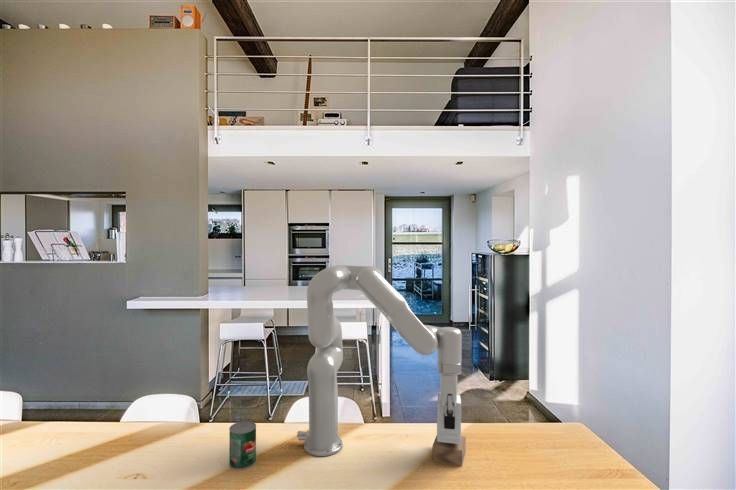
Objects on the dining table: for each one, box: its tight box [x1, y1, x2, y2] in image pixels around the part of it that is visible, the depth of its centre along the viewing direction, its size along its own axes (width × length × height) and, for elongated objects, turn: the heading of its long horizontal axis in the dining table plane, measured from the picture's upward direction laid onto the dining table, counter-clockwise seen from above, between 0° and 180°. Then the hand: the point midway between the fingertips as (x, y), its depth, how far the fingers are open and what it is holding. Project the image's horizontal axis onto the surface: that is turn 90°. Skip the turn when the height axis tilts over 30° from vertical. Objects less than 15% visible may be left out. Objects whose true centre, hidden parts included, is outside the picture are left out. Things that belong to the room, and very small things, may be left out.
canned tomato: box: [228, 420, 257, 471], centre depth 121 cm, size 8×8×11 cm
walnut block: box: [432, 435, 467, 467], centre depth 125 cm, size 9×9×5 cm
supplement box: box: [436, 393, 462, 444], centre depth 125 cm, size 7×7×13 cm
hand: (448, 422), depth 125 cm, fingers closed on supplement box, 7 cm apart
